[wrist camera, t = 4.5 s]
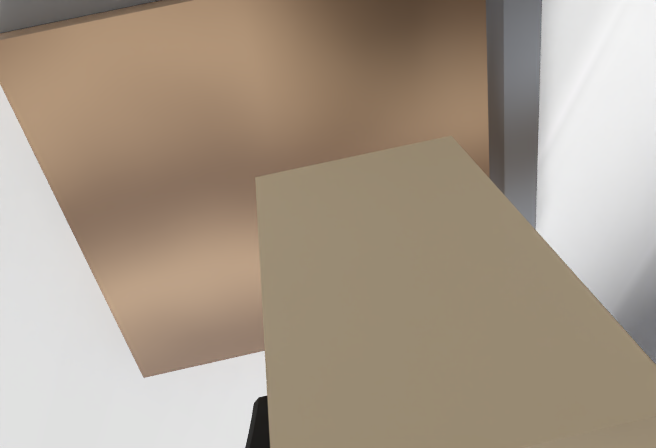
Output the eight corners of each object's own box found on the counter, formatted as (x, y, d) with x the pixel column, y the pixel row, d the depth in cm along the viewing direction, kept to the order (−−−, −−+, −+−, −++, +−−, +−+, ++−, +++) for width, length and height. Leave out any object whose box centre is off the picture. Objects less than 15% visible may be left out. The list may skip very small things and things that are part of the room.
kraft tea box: (452, 135, 11) (694, 407, 5) (464, 352, 14) (626, 680, 8) (255, 177, 11) (273, 504, 5) (310, 387, 14) (362, 745, 8)
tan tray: (509, 273, 22) (537, 313, 20) (148, 354, 21) (138, 403, 19) (508, -71, 15) (549, -66, 13) (-2, 34, 15) (-40, 56, 13)
